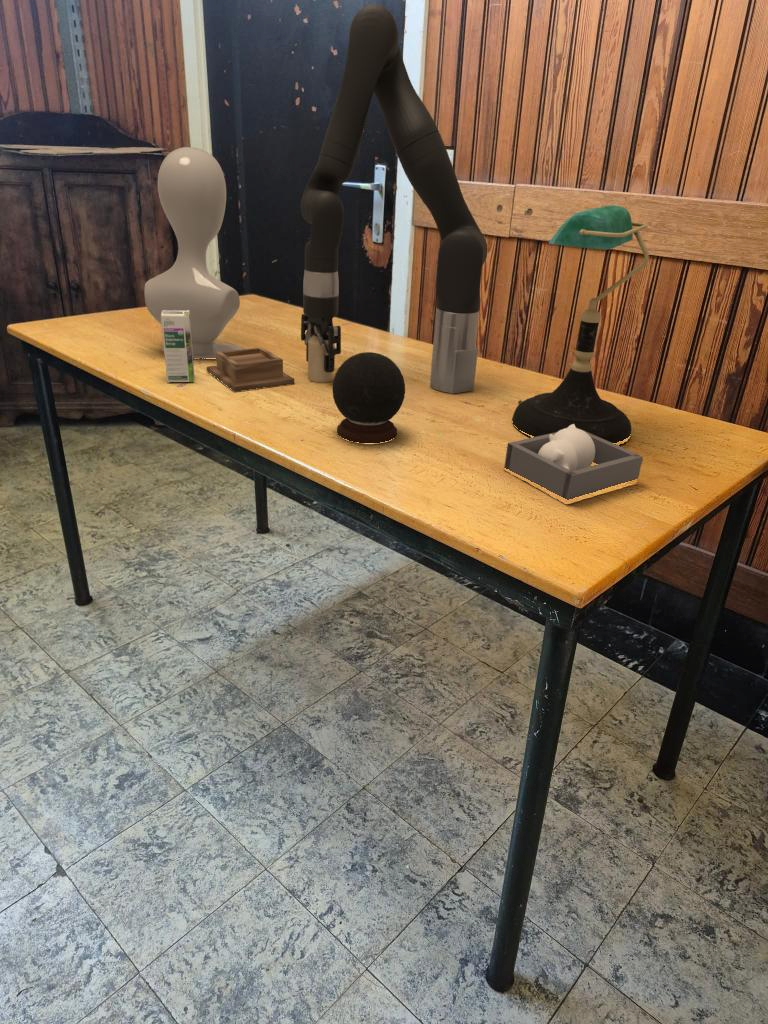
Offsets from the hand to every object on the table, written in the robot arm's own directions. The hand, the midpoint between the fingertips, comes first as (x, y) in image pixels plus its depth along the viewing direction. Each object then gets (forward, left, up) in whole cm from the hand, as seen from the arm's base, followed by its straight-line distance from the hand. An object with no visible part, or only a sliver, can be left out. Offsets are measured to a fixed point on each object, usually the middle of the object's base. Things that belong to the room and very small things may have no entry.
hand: (320, 366), depth 157 cm
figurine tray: (-65, -12, -3) cm, 66 cm away
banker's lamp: (-48, -30, -3) cm, 57 cm away
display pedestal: (+7, +14, -3) cm, 16 cm away
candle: (0, 0, -3) cm, 3 cm away
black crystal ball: (-33, +8, -3) cm, 34 cm away
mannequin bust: (+32, +16, -3) cm, 36 cm away
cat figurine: (-63, -11, -3) cm, 64 cm away
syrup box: (+12, +28, -3) cm, 31 cm away
